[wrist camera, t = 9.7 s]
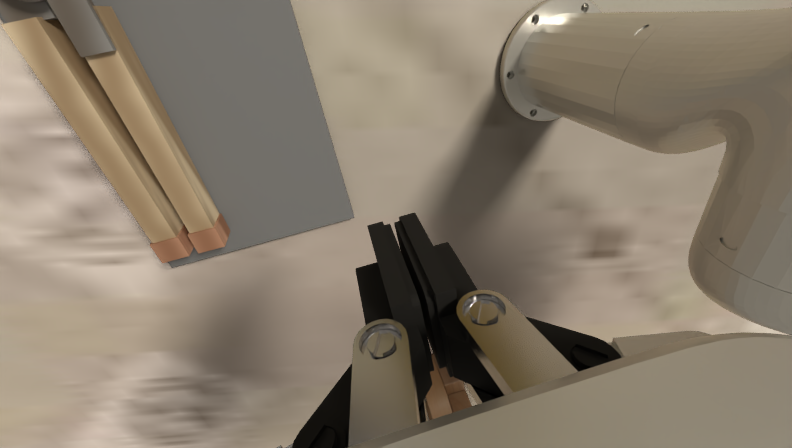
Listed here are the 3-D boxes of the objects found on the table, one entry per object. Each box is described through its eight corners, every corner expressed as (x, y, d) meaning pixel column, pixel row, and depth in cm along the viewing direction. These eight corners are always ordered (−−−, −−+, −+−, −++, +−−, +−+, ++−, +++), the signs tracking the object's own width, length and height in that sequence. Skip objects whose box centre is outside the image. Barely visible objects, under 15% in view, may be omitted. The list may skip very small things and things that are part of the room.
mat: (248, -139, 27) (246, -144, 26) (353, 213, 44) (354, 217, 43) (-58, -82, 25) (-71, -86, 24) (174, 262, 42) (171, 267, 41)
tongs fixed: (55, -69, 26) (22, -80, 23) (220, 232, 41) (214, 249, 38) (-23, -54, 26) (-66, -63, 23) (173, 245, 40) (162, 263, 37)
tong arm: (71, -77, 26) (41, -89, 23) (230, 231, 40) (224, 248, 37) (-11, -62, 25) (-52, -73, 22) (180, 244, 40) (170, 262, 37)
